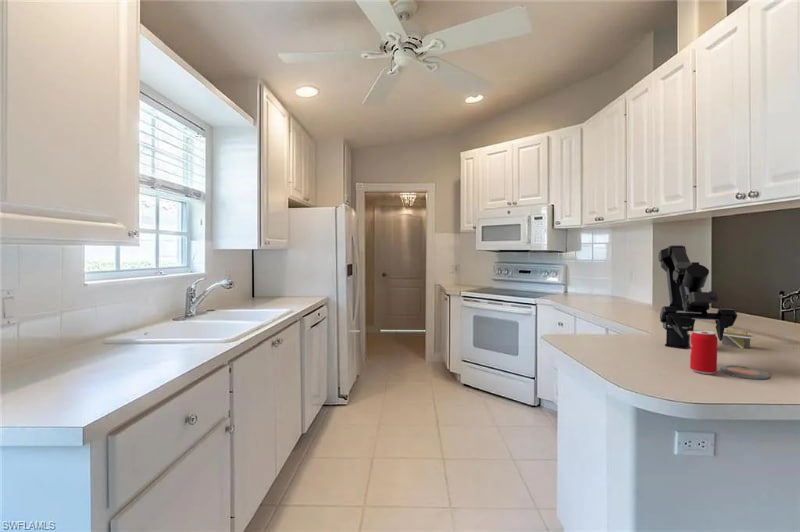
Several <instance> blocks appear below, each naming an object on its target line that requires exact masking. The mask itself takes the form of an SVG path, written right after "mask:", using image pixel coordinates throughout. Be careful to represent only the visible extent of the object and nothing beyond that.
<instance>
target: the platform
mask: <svg viewBox="0 0 800 532" xmlns="http://www.w3.org/2000/svg"><path fill="white" fill-rule="evenodd" d="M751 339H755V335H751V334H748V331H747V330H739V329H732V328H731V329H730V328H726V331H724V333H723V338H722V341H721V345H722V344H723V346H728V345H730V346H729V347H735V346H738V348H740V349H749V348H750V349H751ZM744 347H745V348H744Z"/></svg>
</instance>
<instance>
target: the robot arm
mask: <svg viewBox="0 0 800 532" xmlns="http://www.w3.org/2000/svg"><path fill="white" fill-rule="evenodd" d="M657 256H658V257H657V258H658V259H657V260H658V262H660V267H661V269H662V270H664V272H666V278H667V279H666V281H667V288H668V298H669V305H668V306H667V305H665V306H662V307H661V310H660V313H659V321H660V322H661V323H662V328H663V330H665V332H666V335H665V338H666V339H665V342H666V343H665V344H664V346H666V347H672V348H679V349H688V347H689V346H690V347H691V334H690V333H689V332H693V330H694V329H695V323H696V320H703V321H704V320H705V321H715V324H716V326H715V329H716V336H717V339H718V340H719V341H720V342H722V338H723V333H724V332H725V329H729V327H733V326H734V324H735V322H736V320H737V318H738V314H737V311H736V310H735V309H733V308H718V309H717V312H708V311H709V310H710V304H712V303H713V304H715V303H717V302H719V294H718V292H717V291H714V290H713V291H711V290H710V291H708V292H707V291H703V290H702V288H704V287H705V285H706V282H707V279H708V276H709V273H710V270H709V269H708V268H707V267H706V266H704V265H702V264H700V262H699V261H698V262H697V261H696V262H695V261H693V262H691V260H690V258H689V255H688V253H687V249H686V245H678V244H677V245H676V244H675V245H669V246H667V247H666V248H663V249H661V250H660V251H659V252H658V255H657Z"/></svg>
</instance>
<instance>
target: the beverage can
mask: <svg viewBox="0 0 800 532" xmlns="http://www.w3.org/2000/svg"><path fill="white" fill-rule="evenodd" d="M689 356H690V360H689V361H690V363H689V368H690V369H691V371H693V372H695V373H697V372H698V373H697V374H701V373H702V374H703V375H714V374H715V373H717V371H718V335H717V334H716V332H714V331H710V330H705V329H695V330H693V331H692V333H691V334H690V355H689Z"/></svg>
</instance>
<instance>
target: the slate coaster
mask: <svg viewBox="0 0 800 532" xmlns="http://www.w3.org/2000/svg"><path fill="white" fill-rule="evenodd" d="M718 370H719V371H720V372H721V373H723V372H724V373H723V374H725V373H727V374H726V375H728V374H730V375H729V376H732V375H734V376H733V377H736V376H738V377H737V378H741V377H743V378H742V379H747V378H751V379H750V380H760V379H761V380H768V379H770V374H769V373H768V372H766V371H763V370H761V369H757V368H753V367H748V366H742V365H741V366H740V365H731V364H730V365H729V364H728V365H726V364H725V365H721V366H719V368H718Z"/></svg>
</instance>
